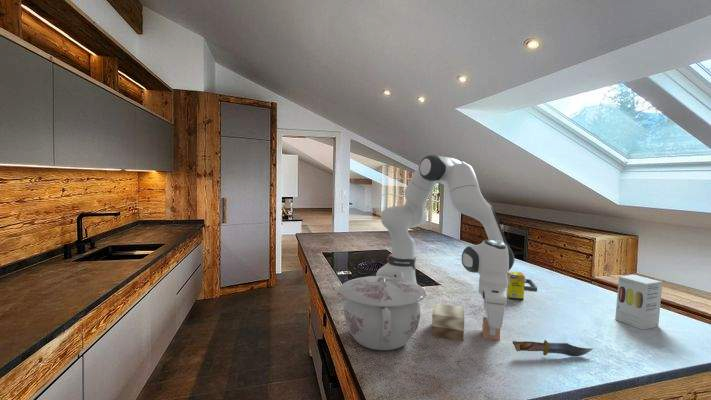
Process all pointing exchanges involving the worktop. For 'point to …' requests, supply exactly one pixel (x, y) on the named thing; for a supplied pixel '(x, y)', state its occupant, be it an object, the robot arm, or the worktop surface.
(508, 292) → the supplement box
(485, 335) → the terracotta block
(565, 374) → the worktop surface
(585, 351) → the knife
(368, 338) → the chamber pot
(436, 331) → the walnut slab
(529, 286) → the grey square frame
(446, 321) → the birch slab
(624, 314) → the supplement box
